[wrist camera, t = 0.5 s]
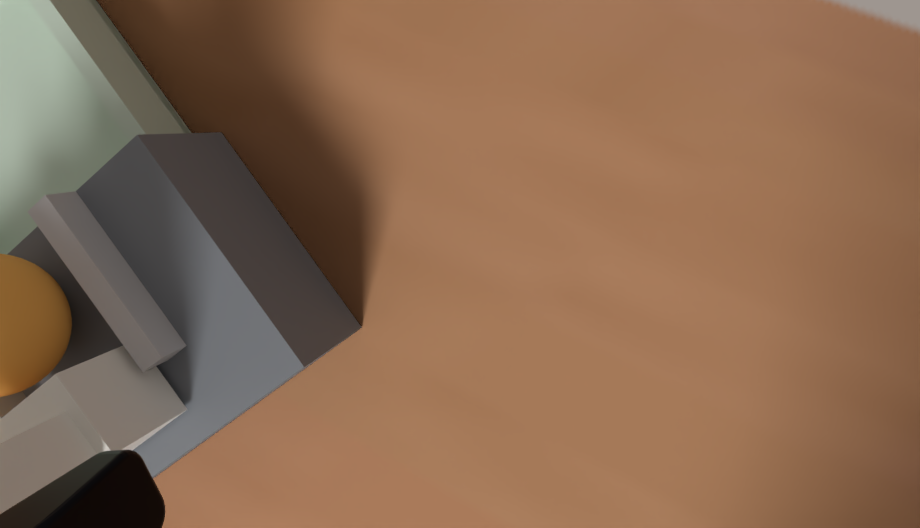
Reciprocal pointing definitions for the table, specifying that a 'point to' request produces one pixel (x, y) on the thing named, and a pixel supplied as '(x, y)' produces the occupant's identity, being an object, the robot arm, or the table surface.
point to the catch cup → (66, 103)
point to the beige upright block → (81, 421)
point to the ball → (30, 324)
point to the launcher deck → (185, 282)
